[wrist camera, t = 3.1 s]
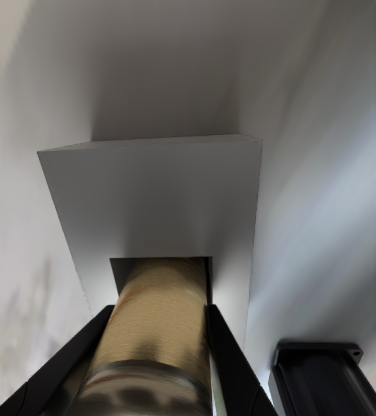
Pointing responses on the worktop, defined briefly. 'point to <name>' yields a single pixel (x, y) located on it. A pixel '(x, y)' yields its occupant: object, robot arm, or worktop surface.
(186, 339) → the brass plug
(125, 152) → the block
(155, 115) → the worktop surface
